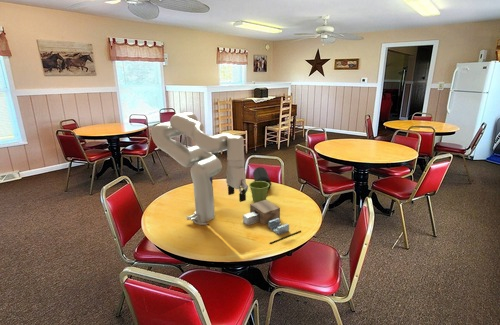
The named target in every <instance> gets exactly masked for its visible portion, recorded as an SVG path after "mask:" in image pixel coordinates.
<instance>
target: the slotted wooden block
mask: <svg viewBox="0 0 500 325" xmlns="http://www.w3.org/2000/svg"><path fill="white" fill-rule="evenodd" d="M254 211H257V212H259V213H260V221H259V222H258V223H261V224H262V226H265V225H268V221H271V220H273V219H276V218H279V219H281V207H279V206H278V205H276V204H274V203H272V202H271V201H269V200H267V199H266V200H263V201H260V202H257V203H256V202H253V203H250V204H249V213H251V212H254Z"/></svg>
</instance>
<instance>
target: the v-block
mask: <svg viewBox="0 0 500 325" xmlns="http://www.w3.org/2000/svg"><path fill="white" fill-rule="evenodd" d="M280 219H281V218H280ZM280 219H279V218H276V219H273V220H271V221H268V224H267V225H268V226H267V228H268V229H269V230H271V231H272V232H273V233H275V234H276V235H278V236H281V235H283V234H286V233H288V232H290V224H289V223H284V224H282V223H281V220H280ZM300 233H302V230H299V231H296V232H294V233H290V234H288V235H285V236H284V237H280V238H278V239H276V240H273V241H271V242H269V244H270V245H273V244H276V243H278V242H281V241H282V240H285V239H288V238H290V237H294V236H296V235H298V234H300Z"/></svg>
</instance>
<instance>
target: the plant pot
mask: <svg viewBox="0 0 500 325" xmlns="http://www.w3.org/2000/svg"><path fill="white" fill-rule="evenodd" d="M269 185H270V184H269V183H267V182H264V181H255V180H254V181H252V182H249V184H248V187H249V188H250V192H251V197H252V202H253V203H257V202H260V201H263V200H267V196H268V191H269V190H268V187H269Z"/></svg>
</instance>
